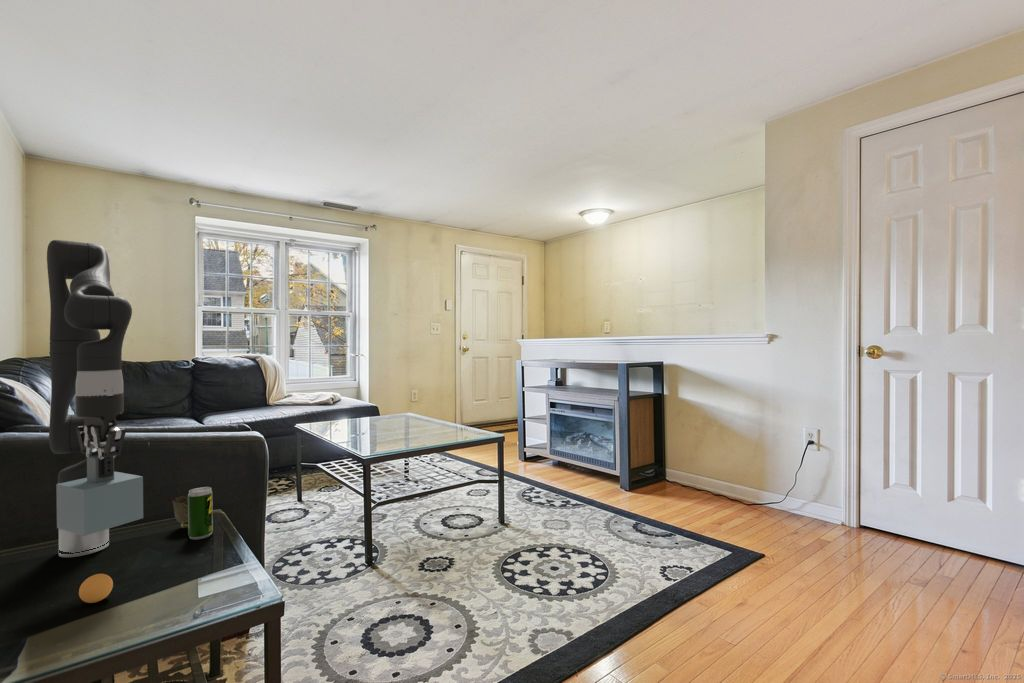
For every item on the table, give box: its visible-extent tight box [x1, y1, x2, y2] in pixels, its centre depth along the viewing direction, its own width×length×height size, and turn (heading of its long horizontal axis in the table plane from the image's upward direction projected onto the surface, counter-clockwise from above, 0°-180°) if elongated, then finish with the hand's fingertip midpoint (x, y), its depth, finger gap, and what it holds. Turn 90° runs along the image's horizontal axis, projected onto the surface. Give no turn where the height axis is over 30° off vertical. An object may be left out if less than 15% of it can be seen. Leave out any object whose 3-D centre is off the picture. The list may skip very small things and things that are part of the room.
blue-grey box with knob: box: [55, 455, 144, 536], centre depth 100 cm, size 10×10×14 cm
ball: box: [78, 573, 114, 604], centre depth 93 cm, size 5×5×5 cm
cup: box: [171, 495, 188, 529], centre depth 133 cm, size 8×7×8 cm
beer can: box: [187, 486, 214, 540], centre depth 126 cm, size 5×5×12 cm
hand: (101, 475), depth 100 cm, fingers closed on blue-grey box with knob, 3 cm apart
